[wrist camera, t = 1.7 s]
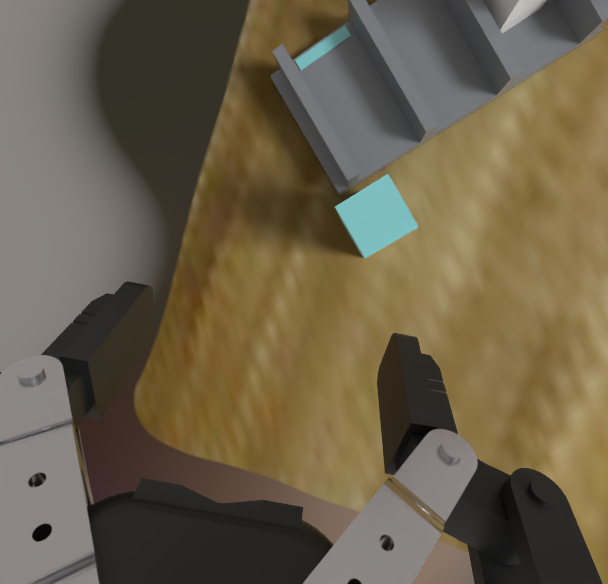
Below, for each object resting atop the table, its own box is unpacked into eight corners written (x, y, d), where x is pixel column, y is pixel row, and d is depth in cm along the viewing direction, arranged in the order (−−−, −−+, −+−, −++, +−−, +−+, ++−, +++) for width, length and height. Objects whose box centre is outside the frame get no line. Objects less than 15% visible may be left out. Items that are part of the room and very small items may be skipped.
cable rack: (520, -92, 32) (545, -144, 28) (594, 37, 32) (629, 4, 28) (272, 81, 36) (261, 58, 32) (339, 195, 36) (337, 187, 32)
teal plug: (379, 196, 35) (387, 173, 25) (401, 235, 35) (418, 226, 25) (340, 220, 36) (334, 206, 26) (362, 257, 36) (365, 258, 26)
